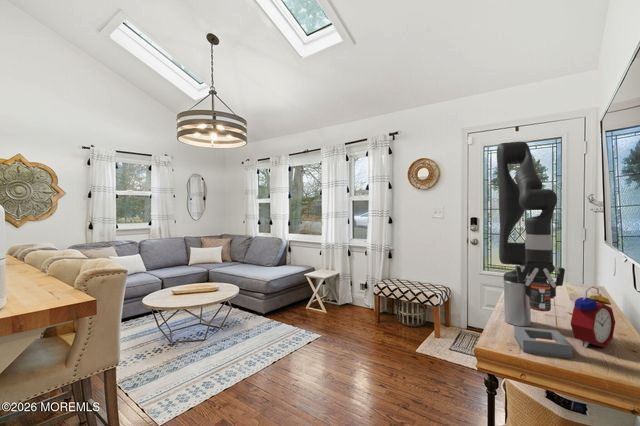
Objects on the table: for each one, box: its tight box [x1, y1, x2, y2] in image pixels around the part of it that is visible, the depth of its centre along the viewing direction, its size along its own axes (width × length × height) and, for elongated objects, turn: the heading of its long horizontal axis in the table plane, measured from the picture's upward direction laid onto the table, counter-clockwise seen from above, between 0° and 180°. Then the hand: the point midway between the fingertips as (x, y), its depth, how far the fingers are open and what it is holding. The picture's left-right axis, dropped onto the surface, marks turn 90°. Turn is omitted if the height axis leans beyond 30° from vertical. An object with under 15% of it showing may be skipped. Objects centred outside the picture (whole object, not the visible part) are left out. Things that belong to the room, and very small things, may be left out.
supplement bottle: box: [529, 276, 552, 312], centre depth 102 cm, size 6×6×11 cm
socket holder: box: [513, 325, 574, 359], centre depth 102 cm, size 13×13×4 cm
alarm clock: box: [566, 286, 616, 349], centre depth 104 cm, size 15×9×20 cm, turn 114°
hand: (539, 296), depth 102 cm, fingers closed on supplement bottle, 6 cm apart
